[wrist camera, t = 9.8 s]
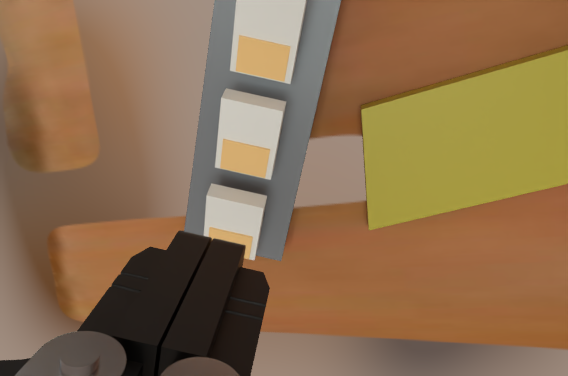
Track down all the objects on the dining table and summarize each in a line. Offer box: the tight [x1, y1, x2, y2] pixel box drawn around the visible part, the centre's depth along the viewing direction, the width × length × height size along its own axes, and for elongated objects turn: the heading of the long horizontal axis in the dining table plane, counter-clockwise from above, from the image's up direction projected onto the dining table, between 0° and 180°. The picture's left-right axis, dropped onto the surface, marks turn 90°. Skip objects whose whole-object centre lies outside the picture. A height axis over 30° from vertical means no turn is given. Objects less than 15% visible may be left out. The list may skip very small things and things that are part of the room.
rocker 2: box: [215, 88, 286, 180], centre depth 42 cm, size 7×5×2 cm
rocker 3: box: [204, 183, 267, 260], centre depth 45 cm, size 7×5×2 cm
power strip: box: [184, 0, 341, 261], centre depth 44 cm, size 34×10×6 cm, turn 169°
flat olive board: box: [361, 45, 568, 230], centre depth 46 cm, size 12×2×24 cm
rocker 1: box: [230, 0, 307, 84], centre depth 38 cm, size 7×5×2 cm
